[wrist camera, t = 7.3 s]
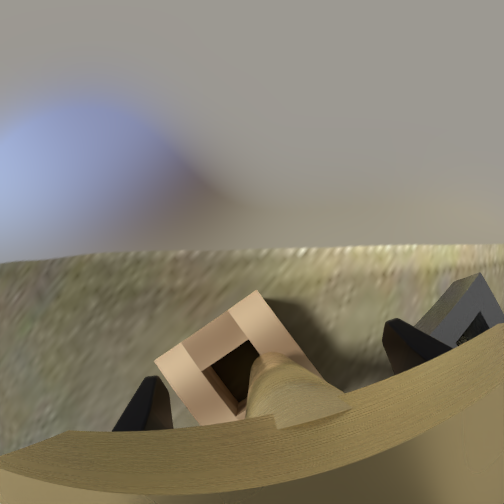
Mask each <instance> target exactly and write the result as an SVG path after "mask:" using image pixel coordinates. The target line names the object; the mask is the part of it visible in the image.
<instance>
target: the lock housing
mask: <svg viewBox="0 0 504 504" xmlns="http://www.w3.org/2000/svg"><path fill="white" fill-rule="evenodd" d="M500 323H504V314H503V312H502V310H501V308H500V306H499V304H498V303H497V301H496V299H495V297H494V295H493V293H492V292H491V290H490V288H489V286H488V285H487V283H486V281H485V279H484V278H483V276H482V274H481V273H477V274H474V275H471V276H469V277H466V278H463V279H460V280H457V281H454V282H453V283H452V285H451V286H450V287H449V288H448V289H447V290H446V292H445V293H444V294H443V295H442V296H441V297H440V299H439V300H438V301H437V302H436V303H435V304H434V305H433V307H432V308H431V309H430V310H429V311H428V312H427V313H426V314H425V315H424V316H423V317H422V319H421V320H420V321H419V322H418V323H417V324H416V325H415V326H414V327H415V328H417V329H419V330H421V331H423V332H424V333H426V334H428V335H430V336H432V337H434V338H435V339H437V340H439V341H441V342H443V343H445V344H446V345H448V346H450V347H452V348H456V347H458V346H457V344H456V342H457V340H458V339H459V338H460V337H461V335H462V334H464V335H465V337H466V339H467V341H469V340H471V339H473V338H475V337H476V336H478V335H480V334H482V333H483V332H485V331H487V330H489V329H490V328H492V327H494V326H495V325H497V324H500Z"/></svg>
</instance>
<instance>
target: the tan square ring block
mask: <svg viewBox="0 0 504 504" xmlns="http://www.w3.org/2000/svg"><path fill="white" fill-rule="evenodd" d="M248 339H249V340H250V342H251V343H252V344H253V346H254V347H255V348H256V350H257V351H258V353H259V354H260V355H262V354H264V353H267V352H278V353H281V354H283V355H285V356H287V357H288V358H290V359H291V360H293V361H294V362H296V363H297V364H299V365H300V366H302V367H304V368H305V369H307V370H308V371H310V372H311V373H313V374H315V375H316V376H318V377H319V378H321V379H323V377H322V376H321V375H320V373H319V372H318V371H317V369H316V368H315V367H314V366H313V364H312V363H311V362H310V360H309V359H308V358H307V356H306V355H305V354H304V352H303V351H302V350H301V348H300V347H299V346H298V344H297V343H296V342H295V340H294V339H293V338H292V337H291V335H290V334H289V333H288V331H287V330H286V329H285V327H284V326H283V325H282V323H281V322H280V321H279V319H278V318H277V317H276V315H275V314H274V312H273V311H272V310H271V308H270V307H269V306H268V304H267V303H266V302H265V300H264V299H263V298H262V296H261V295H260V294H259V292H258V291H257V290H255V291H254V292H253V293H251V294H250V295H248V296H247V297H246V298H244V299H243V300H241V301H240V302H239V303H237V304H236V305H234V306H233V307H231V308H230V309H229V310H227V311H226V312H224V313H223V314H222V315H220V316H219V317H217V318H216V319H214V320H213V321H211V322H210V323H209V324H207V325H206V326H204V327H203V328H201V329H200V330H198V331H197V332H196V333H194V334H193V335H191V336H190V337H188V338H187V339H185V340H184V341H182V342H181V343H179V344H178V345H176V346H175V347H174V348H172V349H171V350H169V351H168V352H166V353H165V354H163V355H162V356H160V357H159V358H157V359H156V360H154V361H155V363H156V364H157V366H158V367H159V369H160V370H161V372H162V373H163V375H164V376H165V378H166V379H167V381H168V382H169V383H170V385H171V386H172V388H173V389H174V391H175V392H176V393H177V395H178V396H179V397H180V399H181V400H182V402H183V403H184V404H185V406H186V407H187V408H188V410H189V411H190V412H191V414H192V415H193V416H194V417H195V419H196V420H197V421H198V423H199V424H200V425H201V426H204V425H212V424H219V423H225V422H231V421H237V420H243V419H245V415H246V406H247V398H248V397H247V398H245V399H244V400H242V401H241V402H238V401H237V400H236V399H235V397H234V396H233V395H232V393H231V392H230V391H229V390H228V388H227V387H226V386H225V384H224V383H223V382H222V380H221V379H220V378H219V376H218V375H217V374H216V372H215V371H214V369H213V368H212V367H211V365H212V364H213V363H215V362H216V361H218V360H219V359H221V358H222V357H224V356H225V355H226V354H228V353H229V352H231V351H232V350H234V349H235V348H237V347H238V346H239V345H241V344H242V343H244V342H245V341H247V340H248ZM323 380H324V379H323ZM324 381H325V380H324Z"/></svg>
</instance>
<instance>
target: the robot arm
mask: <svg viewBox="0 0 504 504" xmlns="http://www.w3.org/2000/svg"><path fill="white" fill-rule="evenodd" d="M382 342H383V346H384V348H385V351H386V353H387V356H388V358H389V361H390V363H391V366H392V368H393V371H394V373H395V375H397V374H400V373H402V372H405V371H407V370H409V369H412V368H414V367H416V366H419V365H421V364H423V363H425V362H427V361H430V360H432V359H434V358H436V357H438V356H440V355H442V354H444V353H446V352H448V351H450V350H452V349H454V348H452V347H450V346H448V345H446V344H445V343H443V342H441V341H439V340H437V339H435V338H434V337H432V336H430V335H428V334H426V333H424V332H423V331H421V330H419V329H417V328H415V327H413V326H412V325H410V324H408V323H406V322H404V321H402V320H401V319H398V318H394V319H391V320H389V321H386V323H385V326H384V332H383V337H382ZM166 429H173V422H172V414H171V405H170V396H169V392H168V390H167V388H166V387H165V385H164V384H163V382H162V380H161V379H160V377H159V376H148V377H146V378H144V380H143V381H142V383H141V385H140V386H139V388H138V389H137V391H136V393H135V394H134V396H133V398H132V399H131V401H130V402H129V404H128V406H127V407H126V409H125V410H124V412H123V414H122V415H121V417H120V419H119V420H118V422H117V424H116V425H115V427H114V428H113V430H112V432H129V431H152V430H166Z"/></svg>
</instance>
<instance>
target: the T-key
mask: <svg viewBox="0 0 504 504" xmlns="http://www.w3.org/2000/svg"><path fill="white" fill-rule="evenodd" d="M0 503H1V504H504V323H500V324H497V325H495V326H494V327H492V328H490V329H489V330H487V331H485V332H483V333H482V334H480V335H478V336H476V337H475V338H473V339H471V340H469V341H467V342H465V343H464V344H462V345H460V346H458V347H456V348H454V349H452V350H450V351H448V352H446V353H444V354H442V355H440V356H438V357H436V358H434V359H432V360H430V361H427V362H425V363H423V364H421V365H419V366H416V367H414V368H412V369H409V370H407V371H405V372H402V373H400V374H397V375H395V376H392V377H390V378H387V379H385V380H382V381H380V382H377V383H374V384H372V385H369V386H366V387H363V388H360V389H357V390H355V391H352V392H349V393H344V392H342V391H341V390H339V389H337V388H336V387H334V386H332V385H331V384H329V383H327V382H326V381H324V380H323V379H321V378H319V377H318V376H316V375H315V374H313V373H311V372H310V371H308V370H307V369H305V368H304V367H302V366H300V365H299V364H297V363H296V362H294V361H293V360H291V359H290V358H288V357H287V356H285V355H283V354H281V353H278V352H267V353H264V354H262V355H260V356H259V357H258V358H257V359H256V360H255V361H254V363H253V364H252V367H251V372H250V381H249V390H248V398H247V406H246V415H245V419H243V420H237V421H231V422H225V423H219V424H212V425H204V426H196V427H188V428H178V429H166V430H152V431H129V432H92V431H70V430H68V431H66V432H64V433H61V434H59V435H56V436H54V437H51V438H49V439H46V440H44V441H41V442H38V443H36V444H33V445H30V446H28V447H25V448H22V449H19V450H17V451H14V452H11V453H8V454H5V455H2V456H0Z"/></svg>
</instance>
